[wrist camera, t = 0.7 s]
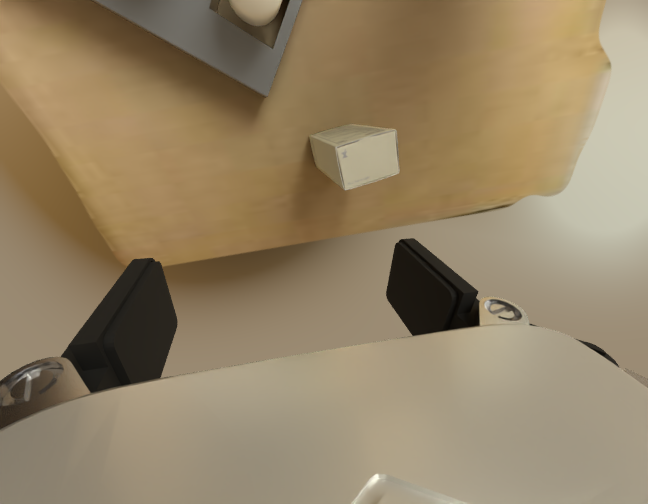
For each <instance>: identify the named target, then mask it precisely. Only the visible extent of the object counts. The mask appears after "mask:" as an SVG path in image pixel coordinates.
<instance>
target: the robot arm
mask: <svg viewBox="0 0 648 504" xmlns="http://www.w3.org/2000/svg"><path fill="white" fill-rule="evenodd" d="M477 294H478V291H477V290H476V289H475V288H474V287H472V286H471V285H470V284H469V283H467V282H466V281H465V280H464V279H462V278H461V277H460V276H459V275H458V274H456V273H455V272H454V271H453V270H452V269H451V268H449V267H448V266H447V265H445V264H444V263H443V262H442V261H441V260H439V259H438V258H437V257H436V256H435V255H433V254H432V253H431V252H430V251H429V250H427V249H426V248H425V247H424V246H422V245H421V244H420V243H419V242H418V241H416V240H415V239H401V240H400V241H399V242H398V243H396V245H395V249H394V254H393V260H392V265H391V271H390V276H389V281H388V286H387V291H386V296H387V299H388V301H389V302H390V304H391V305H392V307H393V308H394V310H395V311H396V313H397V314H398V315H399V317H400V318H401V320H402V321H403V323H404V324H405V325H406V327H407V328H408V330H409V331H410V333H411V334H412V335H413V336H409V337H403V338H397V339H391V340H385V341H379V342H373V343H366V344H360V345H354V346H348V347H343V348H337V349H330V350H324V351H318V352H312V353H306V354H300V355H294V356H288V357H282V358H276V359H270V360H264V361H258V362H252V363H246V364H241V365H234V366H229V367H223V368H217V369H211V370H205V371H199V372H193V373H187V374H182V375H176V376H170V377H164V378H160V377H161V374H162V371H163V368H164V365H165V362H166V359H167V356H168V353H169V350H170V346H171V344H172V341H173V338H174V334H175V332H176V328H177V317H176V313H175V310H174V307H173V303H172V300H171V296H170V293H169V289H168V286H167V283H166V279H165V276H164V272H163V269H162V265H161V263H160V262H159V261H157V262H155V260H154V259H153V258H145V259H134V260H132V262H131V263H130V264H129V266H128V267H127V268H126V270H125V271H124V272H123V274H122V275H121V276H120V278H119V279H118V280H117V282H116V283H115V284H114V286H113V287H112V288H111V290H110V291H109V292H108V294H107V295H106V296H105V298H104V299H103V300H102V302H101V303H100V304H99V305H98V307H97V308H96V309H95V311H94V312H93V314H92V315H91V316H90V318H89V319H88V320H87V322H86V323H85V324H84V325H83V327H82V328H81V329H80V331H79V332H78V334H77V335H76V336H75V337H74V339H73V340H72V342H71V343H70V344H69V346H68V347H67V349H66V350H65V351H64V353H63V354H62V356H61V357H49V358H45V359H41V360H37V361H34V362H32V363H30V364H27V365H25V366H23V367H21V368H19V369H17V370H15V371H14V372H12V373H10V374H9V375H7V376H6V377H5V378H3V379H2V380H1V381H0V504H648V379H647V378H645V377H643V376H641V375H638V374H637V373H634V372H632V371H630V370H628V369H625V370H624V371H623V370H622V369H620V368H619V366H618V364H617V363H616V361H615V360H614V359H612V358H611V357H610V356H609V355H608V354H607V353H606V352H605V351H604V350H602V349H601V348H599V347H597V346H596V345H593V344H591V343H588V342H583V341H580V340H577V339H575V338H572V337H570V336H568V335H566V334H564V333H561V332H558V331H554V330H551V329H547V328H543V327H538V326H535V325H532V324H529V321H528V317H527V315H526V313H525V312H524V311H523V310H522V309H521V308H520V307H519V306H517V305H516V304H514V303H512V302H510V301H508V300H505V299H502V298H498V297H484V298H482V299H481V300H480V301H479V300H477V299H476V296H477Z"/></svg>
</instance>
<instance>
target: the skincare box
mask: <svg viewBox="0 0 648 504" xmlns="http://www.w3.org/2000/svg"><path fill="white" fill-rule="evenodd" d="M309 139H310V144H311V148H312V152H313V157H314V160H315V164H316V167H317V168H318V169H319V170H320V171H321V172H323V173H324V174H325V175H326V176H328V177H329V178H330V179H331V180H333V181H334V182H335V183H336V184H337V185H339V186H340V187H341V188H342V189H344V190H349V189H352V188H356V187H360V186H363V185H366V184H369V183H372V182H375V181H379V180H381V179H385V178H387V177H390V176H393V175H396V174H399V155H398V141H397V131H396V130H395V129H389V128H381V127H373V126H365V125H357V124H348V125H344V126H340V127H337V128H333V129H329V130H326V131H322V132H319V133H316V134H312V135H310V136H309Z"/></svg>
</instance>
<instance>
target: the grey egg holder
mask: <svg viewBox="0 0 648 504" xmlns="http://www.w3.org/2000/svg"><path fill="white" fill-rule="evenodd" d="M91 1H93V2H95V3H97V4H99V5H100V6H102V7H104V8H106V9H108V10H109V11H111V12H113V13H115V14H117V15H118V16H120V17H122V18H124V19H126V20H127V21H129V22H131V23H133V24H135V25H136V26H138V27H140V28H142V29H144V30H145V31H147V32H149V33H151V34H153V35H154V36H156V37H158V38H160V39H162V40H163V41H165V42H167V43H169V44H171V45H172V46H174V47H176V48H178V49H180V50H181V51H183V52H185V53H187V54H189V55H190V56H192V57H194V58H196V59H198V60H199V61H201V62H203V63H205V64H207V65H208V66H210V67H212V68H214V69H215V70H217V71H219V72H221V73H223V74H224V75H226V76H228V77H230V78H232V79H233V80H235V81H237V82H239V83H241V84H242V85H244V86H246V87H248V88H250V89H251V90H253V91H255V92H257V93H259V94H260V95H262V96H264V97H268V94H269V91H270V88H271V86H272V83H273V80H274V77H275V75H276V72H277V69H278V66H279V64H280V61H281V58H282V55H283V53H284V50H285V47H286V44H287V41H288V39H289V36H290V33H291V30H292V28H293V25H294V22H295V19H296V17H297V14H298V11H299V8H300V6H301V3H302V0H289V3H288V6H287V9H286V12H285V15H284V18H283V21H282V23H281V26H280V29H279V32H278V35H277V38H276V41H275V44H274V46H273V49H272V48H270V47H269V46H267V45H266V44H264V43H263V42H261V41H259V40H258V39H256V38H255V37H253V36H252V35H250V34H248V33H247V32H245V31H244V30H242V29H241V28H239V27H238V26H236V25H234V24H233V23H231V22H230V21H228V20H227V19H225V18H223V17H222V16H220V15H219V14H217V13H216V12H217V8H218V4H219V1H220V0H91Z"/></svg>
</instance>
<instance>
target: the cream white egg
mask: <svg viewBox="0 0 648 504" xmlns="http://www.w3.org/2000/svg"><path fill="white" fill-rule="evenodd" d="M228 1H229V3H230V5H231V7H232V9H233V10H234V12H235V13H236V14H237V16H238V17H239V18H240V19H241V20H243V21H244V22H246V23H248V24H250V25H253V26H264V25H267V24H269V23H270V22H271V21H273V20H274V18H275V17H276V15H277V14H278V12H279V9H280V6H281V2H282V0H228Z"/></svg>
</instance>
